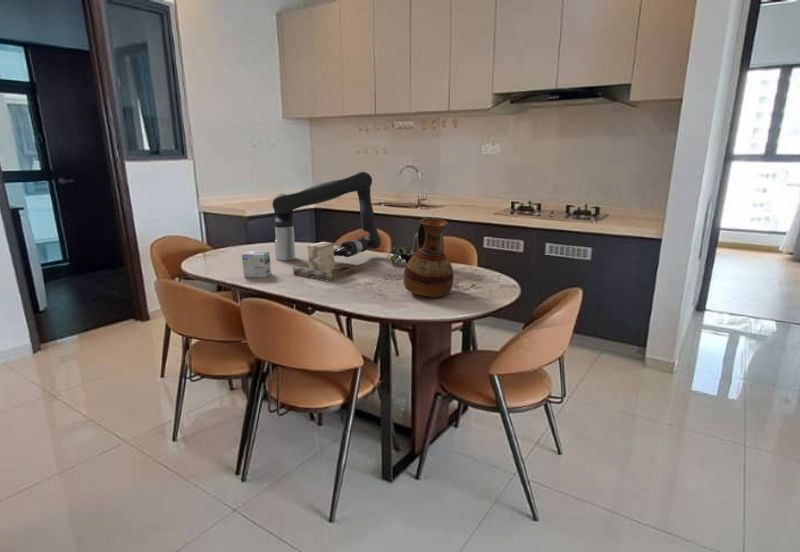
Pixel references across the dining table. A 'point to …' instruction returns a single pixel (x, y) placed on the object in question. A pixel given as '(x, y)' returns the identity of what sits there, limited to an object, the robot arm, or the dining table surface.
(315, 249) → the birch block
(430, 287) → the ceramic pitcher
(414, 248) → the tabletop clock
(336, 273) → the trap board
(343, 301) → the dining table surface
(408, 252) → the passion flower
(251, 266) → the light bulb box
